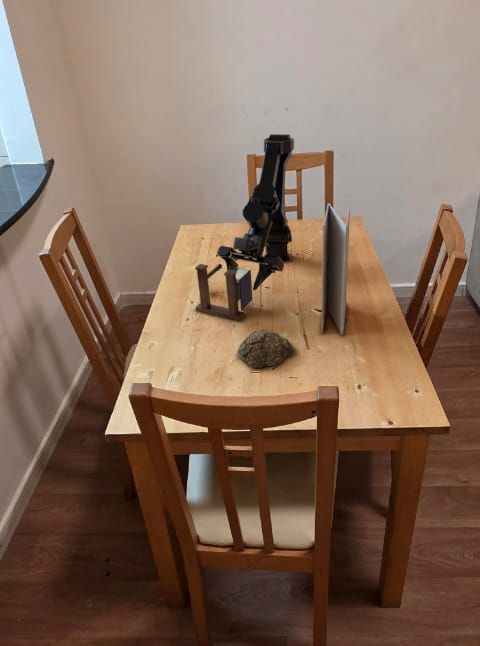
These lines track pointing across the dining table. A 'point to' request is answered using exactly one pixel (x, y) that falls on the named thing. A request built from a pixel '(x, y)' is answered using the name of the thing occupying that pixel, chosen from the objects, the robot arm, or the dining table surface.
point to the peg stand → (231, 285)
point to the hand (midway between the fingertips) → (241, 287)
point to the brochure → (335, 266)
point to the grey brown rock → (264, 349)
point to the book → (244, 286)
